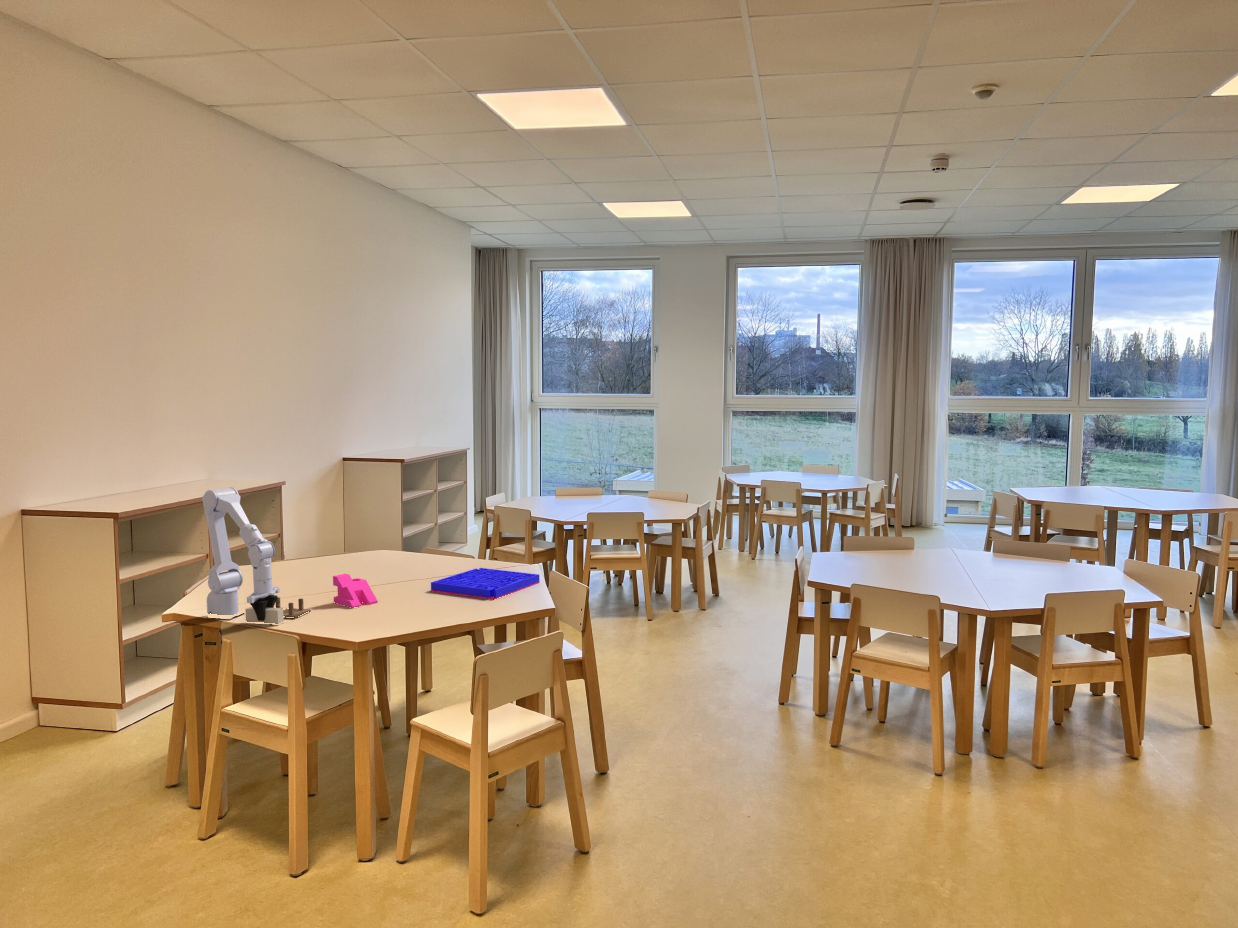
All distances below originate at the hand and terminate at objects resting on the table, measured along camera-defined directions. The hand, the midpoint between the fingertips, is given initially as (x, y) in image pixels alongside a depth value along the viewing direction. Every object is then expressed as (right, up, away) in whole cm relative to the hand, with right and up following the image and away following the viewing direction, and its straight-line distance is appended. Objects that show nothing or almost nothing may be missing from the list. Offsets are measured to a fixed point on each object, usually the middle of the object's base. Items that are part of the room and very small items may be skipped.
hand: (264, 619), depth 275 cm
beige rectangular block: (0, -1, 0) cm, 1 cm away
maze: (+66, +3, +49) cm, 82 cm away
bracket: (+22, +1, +26) cm, 34 cm away
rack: (+2, 0, +11) cm, 11 cm away
